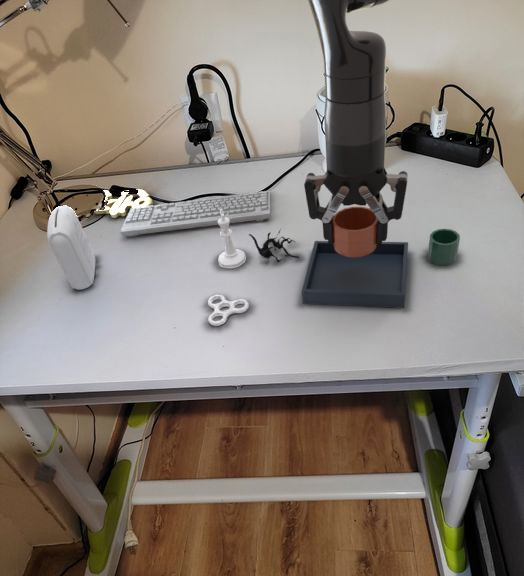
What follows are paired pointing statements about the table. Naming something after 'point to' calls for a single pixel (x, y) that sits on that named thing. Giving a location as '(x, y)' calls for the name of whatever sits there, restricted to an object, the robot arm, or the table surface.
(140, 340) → the table surface
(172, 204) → the keyboard
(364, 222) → the big bowl
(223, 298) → the fidget spinner
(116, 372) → the table surface
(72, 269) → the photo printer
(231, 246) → the chess piece
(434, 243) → the small bowl
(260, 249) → the creature
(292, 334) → the table surface
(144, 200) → the lettering
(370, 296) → the tray
